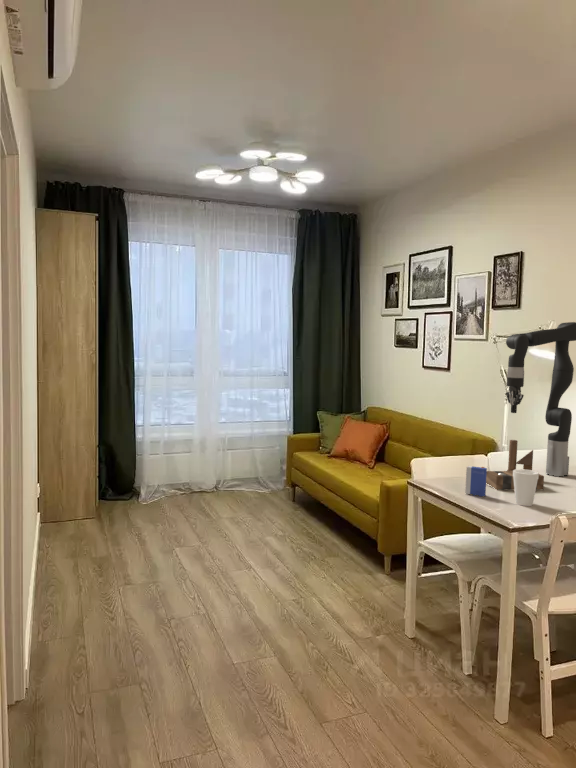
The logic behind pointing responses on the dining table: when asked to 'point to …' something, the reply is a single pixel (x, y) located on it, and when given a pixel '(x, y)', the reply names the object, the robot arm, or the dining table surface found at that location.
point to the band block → (507, 480)
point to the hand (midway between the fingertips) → (513, 412)
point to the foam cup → (525, 486)
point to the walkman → (476, 480)
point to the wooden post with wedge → (525, 461)
